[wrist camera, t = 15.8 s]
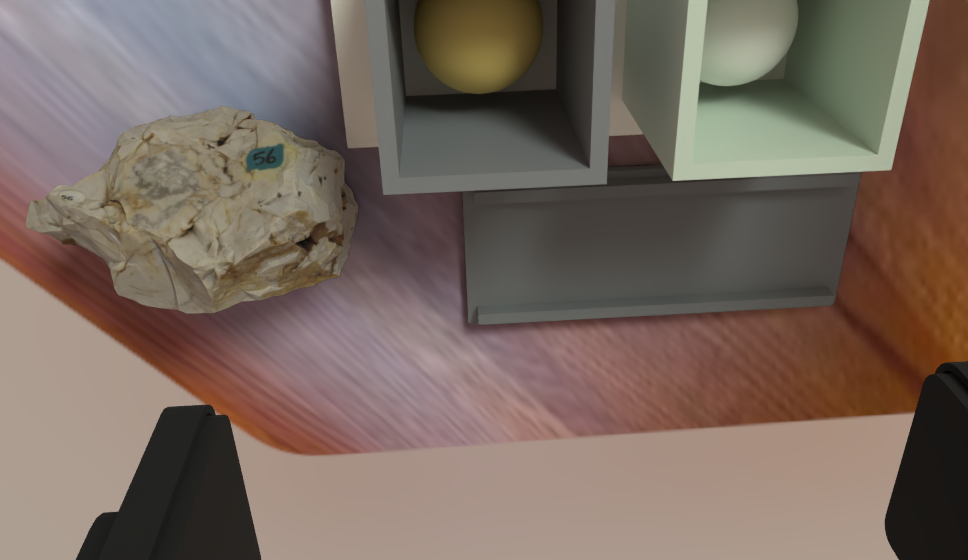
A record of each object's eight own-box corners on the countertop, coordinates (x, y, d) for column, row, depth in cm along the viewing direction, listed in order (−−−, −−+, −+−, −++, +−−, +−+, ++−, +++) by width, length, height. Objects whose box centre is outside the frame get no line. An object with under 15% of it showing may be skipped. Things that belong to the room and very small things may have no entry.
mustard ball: (539, -51, 34) (547, -34, 29) (539, 74, 36) (546, 107, 32) (414, -47, 34) (403, -30, 29) (422, 77, 36) (413, 111, 32)
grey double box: (872, -149, 34) (1029, -129, 25) (825, 116, 39) (940, 209, 30) (319, -129, 33) (278, -101, 24) (349, 138, 39) (325, 241, 30)
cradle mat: (859, 155, 40) (871, 165, 39) (830, 298, 44) (840, 311, 43) (461, 174, 40) (462, 185, 39) (467, 318, 44) (468, 332, 43)
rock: (393, 119, 37) (285, 233, 29) (379, 241, 41) (280, 370, 33) (145, 44, 39) (-22, 133, 31) (154, 168, 42) (9, 275, 35)
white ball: (789, -60, 34) (826, -36, 30) (771, 64, 36) (802, 102, 32) (662, -57, 34) (680, -33, 30) (653, 65, 37) (669, 104, 32)
